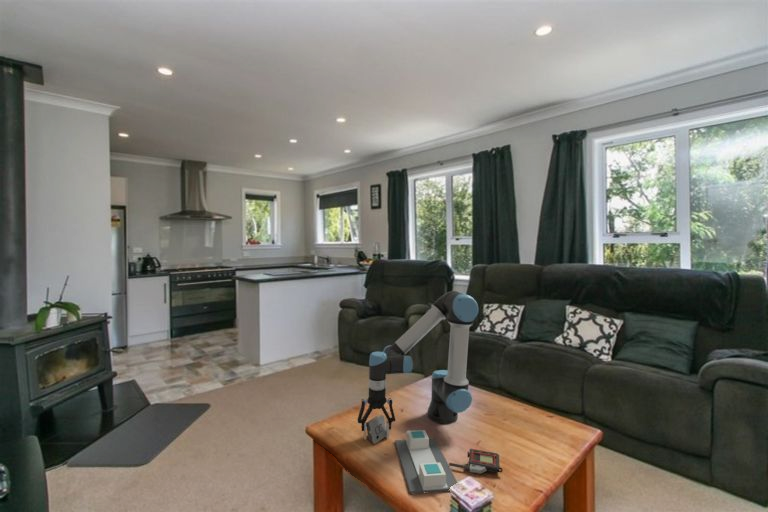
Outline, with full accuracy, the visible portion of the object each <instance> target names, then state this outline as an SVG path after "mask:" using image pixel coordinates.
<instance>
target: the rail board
mask: <svg viewBox="0 0 768 512" xmlns="http://www.w3.org/2000/svg"><path fill="white" fill-rule="evenodd" d="M394 444H395V447H396V451H397V453H398V457H399V459H400V460H399V461H400V463H401V466H402V470H403V474H404V478H405V480H406V484H407V486H408V490H410V491H409V493H420V494H427V493H426V492H433V493H441V492H440V491H446V492H449V491H448V490H449V489H450V487H451V486H453V485H454V484H456V483H458V481H457V479H456V477H455V475H454V472H453V471H452V469H451V466H450V465H449V463H448V461H447V459H446V457H445V454H444V453H443V452H442V449H441V448H440V446H439V443H438V441H437V440H436V437H435V438H434V437H433V438H429V435H428V434H427V432H426V430H425V429H422V430H421V429H420V430H419V429H418V430H407V431H406V438H405V439H397V440H394ZM424 492H425V493H424Z"/></svg>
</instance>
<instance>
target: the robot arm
mask: <svg viewBox="0 0 768 512" xmlns="http://www.w3.org/2000/svg"><path fill="white" fill-rule="evenodd" d="M478 314H479V305H478V302H477V300H476V299H474V297H472V296H471V295H468V294H467V293H462V292H459V291H455V290H450V291H448V292H446V293H444V294H443V295H441V296H440V297H438V298H437V299H436V300H435V301H434V302H433V303H432V304H431V308H430V309H429V310H428V311H426V313H425V314H423V316H421V317H420V318H419V319H418V320H417V321H416V322H415V323H414V324H413V325H412V326H411V327H410V328H408V329H407V331H405V333H403V334H402V335H401V336H400V337H399V338H398V339H397V340H396V341H395V342H393V343H392V344H391V345H387V346H385V347H384V348H383V351H373V352H371V353H370V355H369V362H368V369H369V370H368V398H367V399H364V398H362V399H361V406H360V408H359V413H358V417H357V423H358V424H361V426H360V428H361V431H362V432H363V440H366V439H367V427H366V422H367V420H368V419H369V416H370V415H371V413H372V412H373V411H374V410H382V412H383V414H384V417H386V420H385V426H386V439H389V436H390V432H389V431H390V430H392V423H393V422H396V416H395V412H394V408H393V399H392V398H391V397H389V398H386V391H387V388H386V386H387V384H386V379H387V375H395V374H396V375H397V374H398V375H399V374H408V373H411V372H412V371H413V368H414V367H413V366H414V363H413V359H412V356H410V355H406V354H407V353H408V352H409V351H411V350H412V348H413V347H415V345H416V344H418V343H419V342H420V341H421V340H422V339H423V338H424V337H425V336H426V335H427V334H428V333H429V332H431V330H432V329H433V328H435V326H437V325H438V324H439V323H440V322H441V321H442V320H446V319H447V322H448V324H449V325H450V327H449V328H450V330H449V347H448V356H447V357H448V359H447V369H439V370H434V371H433V372H432V375H431V399H430V403H429V406H428V409H427V417H428V419H430V420H431V421H433V422H435V423H438V424H446V425H448V424H452V422H453V423H456V421H457V420H458V416H459V415H458V414H459V413H462V412H465V411H467V410H468V409H469V408H470V407H471V405H472V402H473V397H472V394H471V392H470V391H469V386H470V385H469V384H470V382H469V379H467V366H468V350H469V340H470V339H469V338H470V337H469V336H470V327H472V326H473V325H474V321H475V318H477V317H478ZM386 403H387V405H388V407H389V411H390V415H391V417H390V415H389V413H388V411H387V410H386V409H387V408H386V407H385V404H386ZM367 404H368V407H367V410H366V411H365V413H364V410H365V408H366V407H365V406H367Z"/></svg>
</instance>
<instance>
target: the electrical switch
mask: <svg viewBox="0 0 768 512" xmlns="http://www.w3.org/2000/svg"><path fill="white" fill-rule="evenodd" d="M366 434H367V437H368V441H369V442H372V444H375V445H376V443H378V442H380V441H382V440H383V439H385V438H387V436H386V420H385V415H383V414H380V415H379V416H376V417H373V418H372V419H370V420H368V421H366Z"/></svg>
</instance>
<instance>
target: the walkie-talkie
mask: <svg viewBox="0 0 768 512" xmlns="http://www.w3.org/2000/svg"><path fill="white" fill-rule="evenodd" d="M467 458H469V459H468V460H467V464H468V465H463V464H459V463H453V462H449V463H448V465H449V467H455V468H461V469H465V470H469V473H474V474H478V475H479V474H481V475H482V473H485V472H490V473H491V472H493V473H496V474H497V473H503V468H502V467H500V454H499V453H498V452H497V453H496V452H493V451H487V450H480V449H474V448H470V449H469V451H467Z"/></svg>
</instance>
